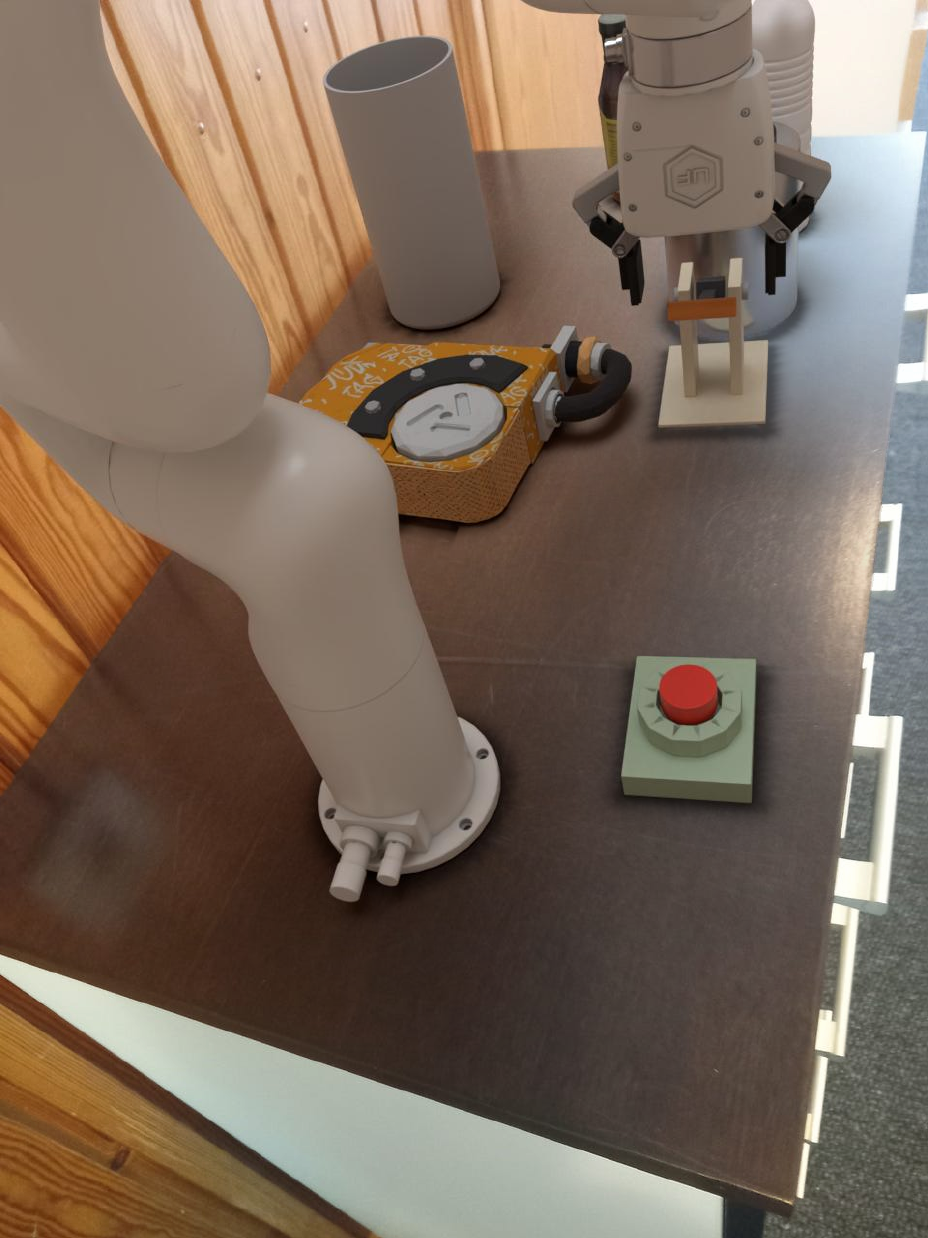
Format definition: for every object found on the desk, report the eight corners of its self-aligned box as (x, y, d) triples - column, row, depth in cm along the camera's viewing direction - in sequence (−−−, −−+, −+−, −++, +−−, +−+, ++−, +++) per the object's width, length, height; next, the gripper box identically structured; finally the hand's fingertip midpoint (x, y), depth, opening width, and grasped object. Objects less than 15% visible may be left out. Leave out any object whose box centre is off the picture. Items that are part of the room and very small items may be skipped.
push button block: (751, 803, 65) (751, 767, 62) (624, 795, 67) (618, 760, 64) (756, 679, 71) (755, 641, 68) (639, 675, 73) (634, 638, 71)
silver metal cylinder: (796, 342, 96) (801, 160, 83) (665, 350, 99) (651, 176, 87) (797, 263, 105) (801, 87, 92) (676, 272, 108) (665, 104, 96)
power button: (716, 726, 65) (715, 709, 64) (658, 724, 66) (656, 707, 65) (719, 681, 67) (718, 664, 66) (663, 679, 68) (661, 663, 67)
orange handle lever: (736, 324, 76) (736, 291, 76) (667, 329, 78) (666, 296, 77) (742, 303, 87) (742, 274, 86) (682, 308, 89) (681, 279, 88)
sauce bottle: (637, 177, 124) (620, -4, 110) (676, 188, 120) (664, 2, 106) (598, 201, 122) (576, 20, 108) (636, 214, 118) (619, 27, 104)
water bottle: (744, 214, 113) (740, -43, 95) (806, 205, 112) (814, -57, 94) (747, 254, 108) (744, -10, 90) (813, 246, 106) (823, -25, 88)
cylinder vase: (472, 336, 108) (414, 90, 90) (371, 328, 113) (298, 94, 96) (519, 272, 115) (474, 31, 97) (422, 268, 120) (362, 39, 102)
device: (349, 297, 102) (640, 308, 90) (372, 367, 108) (648, 387, 96) (230, 441, 90) (550, 477, 77) (263, 511, 96) (566, 556, 83)
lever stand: (765, 432, 88) (765, 310, 80) (659, 435, 91) (648, 318, 82) (768, 350, 96) (768, 231, 87) (670, 356, 98) (661, 241, 90)
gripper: (544, 91, 64) (581, 327, 77) (838, 49, 59) (827, 310, 72) (562, 43, 69) (594, 272, 81) (836, 0, 64) (826, 252, 76)
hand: (703, 290), depth 77 cm, fingers open, 9 cm apart
